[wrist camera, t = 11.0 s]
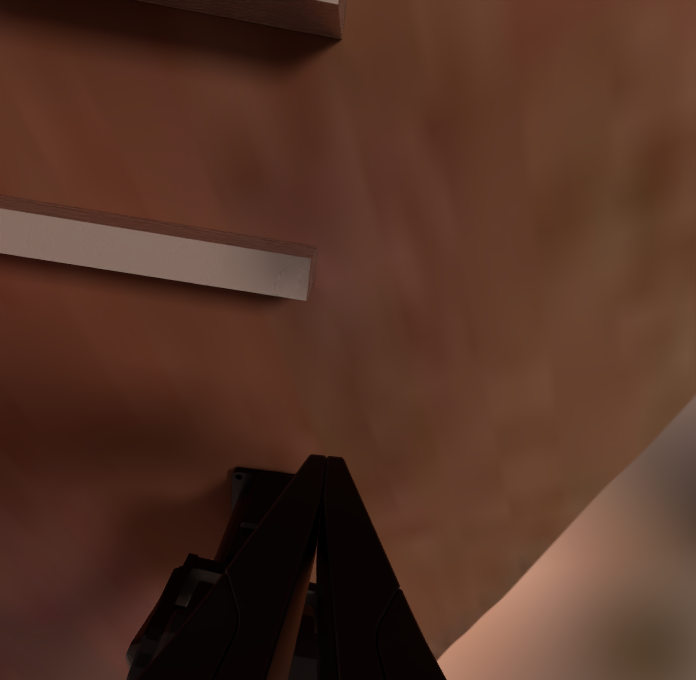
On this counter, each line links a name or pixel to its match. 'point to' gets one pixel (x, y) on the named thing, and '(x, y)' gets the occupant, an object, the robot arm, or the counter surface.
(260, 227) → the counter surface
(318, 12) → the chute
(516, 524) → the counter surface
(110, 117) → the counter surface
